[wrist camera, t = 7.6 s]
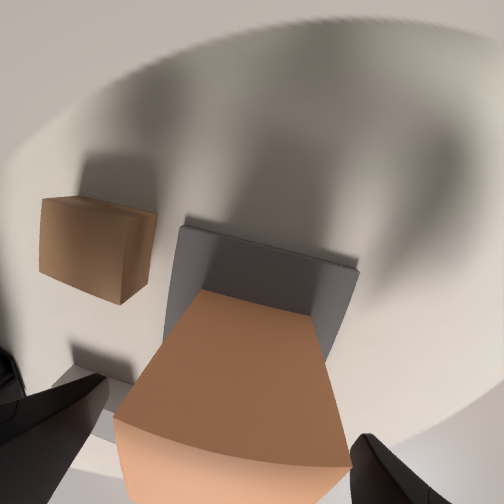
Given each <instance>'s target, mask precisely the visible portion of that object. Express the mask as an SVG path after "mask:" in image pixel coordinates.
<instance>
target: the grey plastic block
mask: <svg viewBox="0 0 504 504" xmlns="http://www.w3.org/2000/svg"><path fill="white" fill-rule="evenodd" d="M93 373H95V372H93V371H90V370H87V369H84V368H82V367H79V366H77V365H73V366H72V367H70V368H69V369H68V370H67V371H66V372H65V373H64V374H63V375H62V376H61V377H60V378H59V379H58V380H57V381H56V382H55V383H54V384H53V385H52V388H54V387H57V386H60V385H63V384H65V383H68V382H71V381H74V380H77V379H79V378H82V377H85V376H88V375H90V374H93ZM108 379H109V390H110V394H109V398H108V400H107V402H106V404H105V406H104V408H103V410H102V412H101V414H100V416H99V419H98V421H97V423H96V425H95V427H94V429H93V430H92V432H91V434H93V435H95V436H97V437H100V438H102V439H104V440H107V441H109V442H112V443H115V444H116V439H115V433H114V426H113V419H112V417H113V415H114V414H115V412H116V411H117V409H118V408H119V406H120V405H121V403H122V402H123V400H124V399H125V397H126V396H127V394H128V393H129V391H130V390H131V389H132V387H133V386H134V385H132V384H129V383H125V382H122V381H119V380H116V379H113V378H110V377H108Z"/></svg>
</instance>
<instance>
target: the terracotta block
mask: <svg viewBox="0 0 504 504" xmlns="http://www.w3.org/2000/svg"><path fill="white" fill-rule="evenodd" d="M112 419H113V426H114V433H115V439H116V444H117V450H118V455H119V460H120V465H121V469H122V473H123V478H124V482H125V485H126V489H127V493H128V496H129V499H130V500H132V501H134V502H137V503H140V504H315V503H316V502H317V501H319V500H320V499H321V498H322V497H323V496H324V495H325V494H326V493H327V492H328V491H330V490H331V489H332V488H333V487H334V486H335V485H336V484H337V483H338V482H339V481H340V480H341V479H342V478H343V477H344V476H345V475H346V474H347V473H348V471H349V470H350V469H351V468H352V467H353V466H352V462H351V458H350V454H349V450H348V446H347V442H346V438H345V434H344V430H343V427H342V423H341V419H340V415H339V412H338V408H337V404H336V401H335V397H334V393H333V390H332V386H331V383H330V379H329V376H328V372H327V369H326V366H325V362H324V359H323V355H322V352H321V349H320V345H319V342H318V339H317V336H316V332H315V329H314V326H313V323H312V319H311V316H307V315H302V314H298V313H293V312H289V311H285V310H281V309H277V308H272V307H268V306H264V305H260V304H256V303H252V302H248V301H244V300H241V299H237V298H233V297H229V296H225V295H222V294H218V293H214V292H211V291H207V290H204V289H201V290H200V291H199V293H198V294H197V295H196V297H195V298H194V299H193V301H192V302H191V304H190V305H189V307H188V308H187V309H186V311H185V312H184V314H183V315H182V316H181V318H180V319H179V321H178V322H177V323H176V325H175V326H174V328H173V329H172V331H171V332H170V333H169V335H168V336H167V338H166V339H165V341H164V342H163V343H162V345H161V346H160V348H159V349H158V351H157V352H156V354H155V355H154V356H153V358H152V359H151V361H150V362H149V364H148V365H147V367H146V368H145V369H144V371H143V372H142V374H141V375H140V377H139V378H138V380H137V381H136V383H135V384H134V386H133V387H132V389H131V390H130V391H129V393H128V394H127V396H126V397H125V399H124V400H123V402H122V403H121V405H120V406H119V408H118V409H117V411H116V412H115V414H114V415H113V417H112Z"/></svg>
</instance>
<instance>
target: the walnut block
mask: <svg viewBox="0 0 504 504" xmlns="http://www.w3.org/2000/svg"><path fill="white" fill-rule="evenodd" d="M157 215H158V214H156V213H151V212H147V211H143V210H139V209H134V208H130V207H125V206H121V205H117V204H112V203H108V202H103V201H99V200H95V199H90V198H86V197H81V196H69V197H57V198H46V199H42V209H41V221H40V240H39V272H41V273H43V274H45V275H47V276H50V277H52V278H54V279H56V280H58V281H61V282H63V283H65V284H67V285H70V286H72V287H74V288H77V289H79V290H81V291H84V292H86V293H89V294H91V295H94V296H96V297H99V298H101V299H104V300H107V301H109V302H112V303H114V304H117V305H121V304H123V303H124V302H125V301H126V300H128V299H129V298H130V297H132V296H133V295H134V294H135V293H137V292H138V291H139V290H140V289H142V288H143V287H144V286H146V285H147V282H148V274H149V266H150V259H151V252H152V245H153V239H154V232H155V227H156V221H157Z"/></svg>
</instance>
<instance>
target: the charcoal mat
mask: <svg viewBox="0 0 504 504" xmlns="http://www.w3.org/2000/svg"><path fill="white" fill-rule="evenodd" d="M359 274H360V272H359V271H358V270H357V269H355V268H351V267H348V266H344V265H340V264H336V263H332V262H328V261H325V260H321V259H317V258H313V257H309V256H305V255H301V254H297V253H294V252H290V251H286V250H282V249H278V248H274V247H270V246H266V245H262V244H258V243H254V242H250V241H246V240H242V239H238V238H234V237H230V236H226V235H222V234H218V233H214V232H210V231H206V230H202V229H198V228H194V227H190V226H186V225H183V226H180V229H179V234H178V240H177V245H176V251H175V256H174V262H173V268H172V275H171V281H170V288H169V295H168V302H167V309H166V317H165V325H164V334H163V342H164V341H165V339H166V338H167V336H168V335H169V333H170V332H171V331H172V329H173V328H174V326H175V325H176V323H177V322H178V321H179V319H180V318H181V316H182V315H183V314H184V312H185V311H186V309H187V308H188V307H189V305H190V304H191V302H192V301H193V299H194V298H195V297H196V295H197V294H198V293H199V291H200V290H201V289H204V290H207V291H211V292H214V293H218V294H222V295H225V296H229V297H233V298H237V299H241V300H244V301H248V302H252V303H256V304H260V305H264V306H268V307H272V308H277V309H281V310H285V311H289V312H293V313H298V314H302V315H307V316H311V319H312V323H313V326H314V329H315V332H316V336H317V339H318V342H319V345H320V349H321V352H322V355H323V359H324V362H326V359H327V357H328V355H329V352H330V350H331V348H332V345H333V343H334V341H335V338H336V336H337V333H338V331H339V328H340V326H341V323H342V321H343V318H344V316H345V313H346V310H347V308H348V305H349V302H350V299H351V297H352V294H353V291H354V288H355V285H356V282H357V280H358V277H359Z"/></svg>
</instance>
